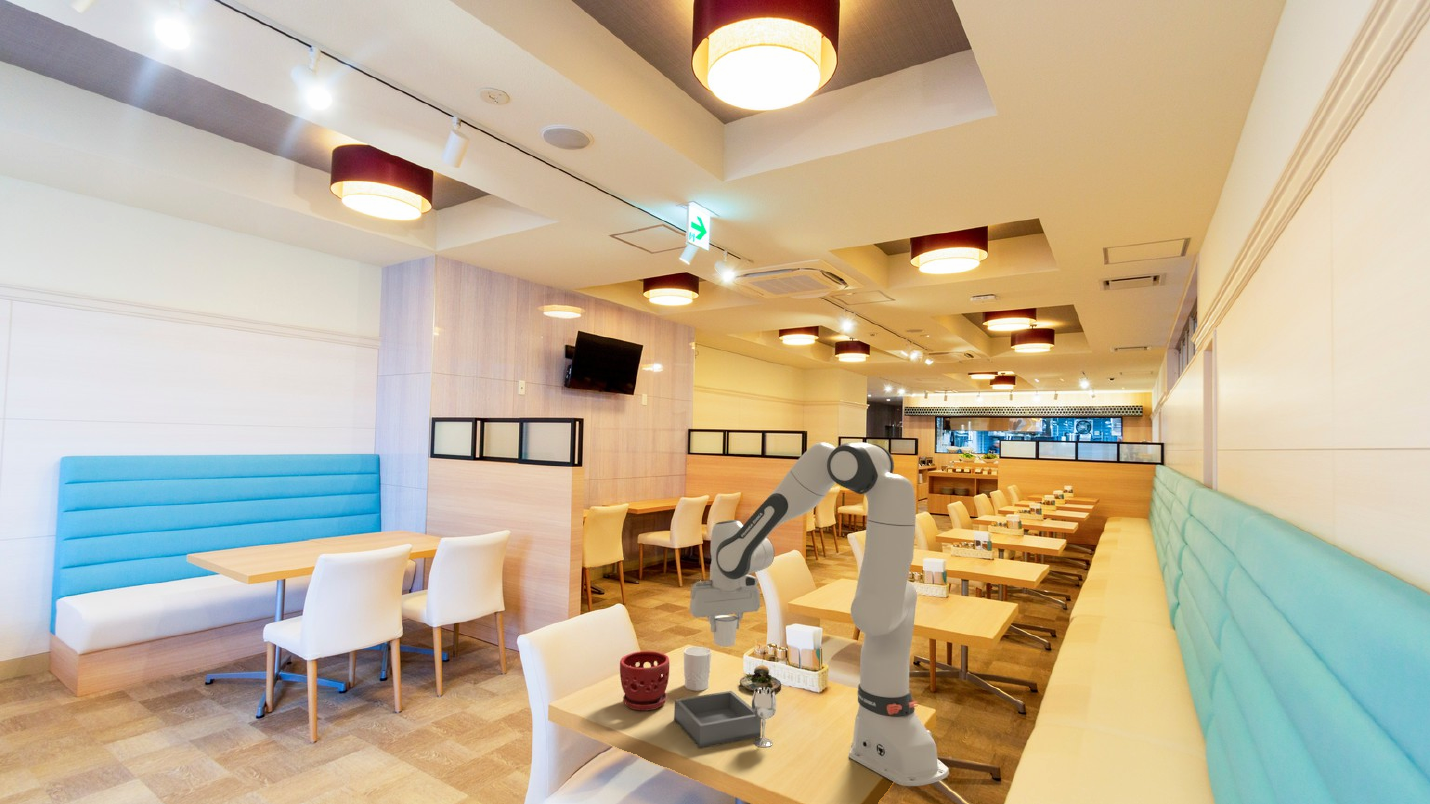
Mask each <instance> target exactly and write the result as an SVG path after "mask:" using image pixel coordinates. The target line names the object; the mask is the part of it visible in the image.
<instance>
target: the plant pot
mask: <svg viewBox="0 0 1430 804" xmlns="http://www.w3.org/2000/svg"><path fill="white" fill-rule="evenodd" d="M655 662H656V663H657V665H655ZM637 663H639V665H638V666H636V664H637ZM646 663H648V664H650V666H649V667H644V666H645V664H646ZM619 677H620V684H621V687H622V690H623V694H624V695H623V697H622V698H623V699H622V701H623V702H624V704H625V706H627V707H628V708H630V709H632V710H637V711H652V710H655V709H658V708H660V707H662V706H663V705H664V704H665V703H666V701H667V699H668V695H667V693H666V691H667V688H668V683H669V678H670V658H669V656H668V655H666V653H665V654H664V653H662V652H659V651H651V650H643V651H642V650H641V651H635V652H631V653H628V654H626V655H624V656H622V658H621V659H620V661H619Z"/></svg>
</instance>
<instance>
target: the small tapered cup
mask: <svg viewBox="0 0 1430 804" xmlns="http://www.w3.org/2000/svg"><path fill="white" fill-rule="evenodd" d="M713 621H714V623H715V625H716V632H713V642H714V645H715V646H718V647H723V648H725V647H732V646H735V643H736V638H737V637H736V635H737V630H736V628H737V617H736V615H733V614H727V615H717V616H715V620H713Z"/></svg>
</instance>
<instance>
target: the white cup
mask: <svg viewBox="0 0 1430 804" xmlns="http://www.w3.org/2000/svg"><path fill="white" fill-rule="evenodd" d="M711 661H712V649H710V648H708V647H705V646H691V647H686V648H685V649H684V650H683V672H684V673H683V674H684V687H685V689H687V690H689V691H695V692H700V691H705V690H706V689H708V688H709V679H710V673H711Z"/></svg>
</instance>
